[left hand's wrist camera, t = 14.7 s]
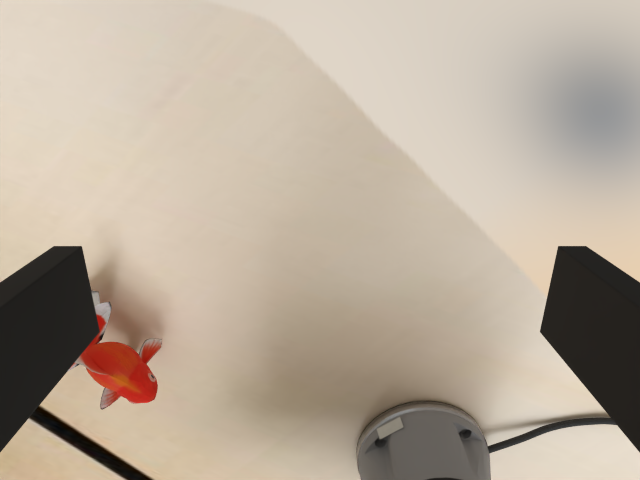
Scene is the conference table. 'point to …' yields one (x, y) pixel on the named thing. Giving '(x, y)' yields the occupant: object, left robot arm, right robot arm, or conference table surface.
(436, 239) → the conference table surface
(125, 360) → the fish
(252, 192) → the conference table surface
